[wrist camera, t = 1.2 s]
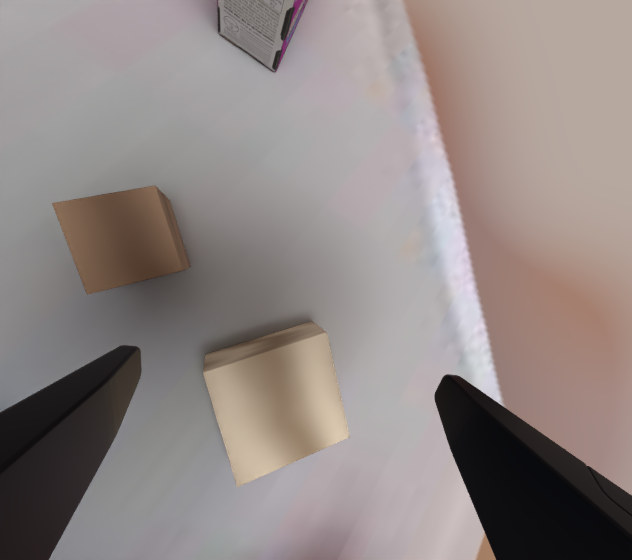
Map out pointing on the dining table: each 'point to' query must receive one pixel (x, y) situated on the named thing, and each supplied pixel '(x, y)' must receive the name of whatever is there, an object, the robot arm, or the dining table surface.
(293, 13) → the candy bar box
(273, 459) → the maple base block
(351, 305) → the dining table surface
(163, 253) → the walnut cube
